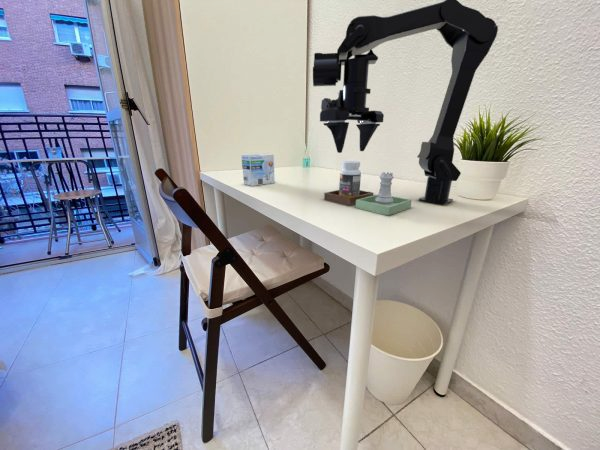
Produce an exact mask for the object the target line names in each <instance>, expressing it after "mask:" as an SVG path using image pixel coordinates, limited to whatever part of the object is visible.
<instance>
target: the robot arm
mask: <svg viewBox="0 0 600 450" xmlns="http://www.w3.org/2000/svg"><path fill="white" fill-rule="evenodd" d="M432 30H437V31H438V32H439V33H440V35H441V37H442V38H443V40H444V42H445V43H446V44H447V46H449V47H450V48H452V53H451V60H450V62H451V76H450V78H449V82H448V85H447V88H446V91H445V94H444V97H443V101H442V104H441V107H440V111H439V114H438V118H437V121H436V124H435V127H434V130H433V133H432V135H431V137H430V138H429V140H428V141H422V142H421V145H420V151H419V154H418V155H417V156H416V158H418V165H419V167H420V168H421V169H422V170H423V173H424V176H425V177H427V179H426V186H425V192H424V196H422V197H420V198H418V201H420V202H425V203H431V204H436V205H441V206H442V205H447V204H450V203H451V202H454V199H453V198H450V193H451V187H452V182H457V181H458V179H459V177H460V176H461V175H462V172H461V171H460V170H459V169H458V167H457V166H456V165H455V164H454V163H453V161H454V154H455V144H454V142H455V141H454V136H455V134H456V131H457V128H458V124H459V121H460V120H461V116H462V113H463V110H464V107H465V104H466V101H467V97H468V95H469V92H470V89H471V86H472V83H473V80H474V77H475V74H476V72H477V70H478V69H479V67H480V65H481V64H482V62H483V61H484V60H485V58H486V57H487V56H488V54H489V52H490V50H491V48H492V46H493V45H494V41H495V40H496V38H497V36H498V31H499V26H498V25H497V23H496V21H495V20H493V18H491V17H486V16H485V15H484V14H483V13H482V12H480V11H479V10H478V9H475V8H472V7H470V6H466V5H464V4H462V3H461V2H459V0H443V1H441V2H437V3H433V4H430V5H427V6H422V7H419V8H415V9H411V10H407V11H404V12H401V13H396V14H393V15H390V16H380V15H373V14H372V15H359V16H356V17H353V19H352V20H351V21H350V22H349V24H348V25H347V28H346V30H345V37H344V39H343V40H342V42H341V43H340V44H339V47H338V48H337V51H336V52H329V53H327V52H326V53H322V52H315V53H314V54H313V56H314V57H313V67H312V86H313V87H335V86H337V83H339V82H341V81H342V66H343V84H342V89H339V91H338V96H337V98H336V99H331V98H329V97H324V98H323V99H322V100H321V104H320V109H321V110H320V113H319V122H320V123H321V122H322V123H323V126H324V127H325V126H326V127H327V129H329V131H331V135H332V138H333V141H334V145H335V148H336V152H337V154H341V153H343V150H344V146H345V142H346V138H347V133H348V129H349V125H350V122H349V121H356V122H357V123H358V124H355V126H356V127H357V129H358V130H359V151H360V152H364V151H365V150H366V147H367V146H368V144H369V143H370V140H371V139H372V137H373V135H374V134H375V132H376V130H378V128H379V127H380V126H381V123H384V117H385V114H384V113H383V112H382V111H381V110H370V107H367V95H371V88H368V80H369V79H368V78H369V67H370V66H369V65H375V64H376V63H377V61H378V60H379V56H378V55H377V54H375V53H374V51H373V49H375V48H377V47H379V45H382V44H384V43H386V42H389V41H394V40H397V39H401V38H405V37H409V36H413V35H417V34H421V33H425V32H428V31H432ZM353 56H354V57H353ZM346 121H348V122H346Z"/></svg>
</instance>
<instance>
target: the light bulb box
mask: <svg viewBox="0 0 600 450" xmlns="http://www.w3.org/2000/svg"><path fill="white" fill-rule="evenodd" d="M240 157H241V167H242V168H241V169H242V181H243V184H244V185H246V186H247V185H248V186H251V187H255V186H262V185H269V184H275V182H276V181H275V180H276V179H275V155H274V154H269V153H257V154H256V153H254V154H241V156H240Z"/></svg>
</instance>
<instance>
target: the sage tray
mask: <svg viewBox="0 0 600 450" xmlns="http://www.w3.org/2000/svg"><path fill="white" fill-rule="evenodd" d="M378 194H379V193H376V194H373V196H369V197H365V198H361V199H357V200H356V204H355V208H356V209H360V210H364V211H367V212H372V213H376V214H381V215H383V216H391V215H395V214H397V213H400V212H402V211H405V210H408V209H410V208H412V202H413V200H412V199H410V198H404V197H401V196H400V197H399V196H394V195H391V196H392V198H393V202H392V203H393V205H391V206H385V205H380V204H376V203H375V202H376V200H375V198H376V197H377V195H378Z"/></svg>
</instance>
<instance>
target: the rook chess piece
mask: <svg viewBox="0 0 600 450" xmlns="http://www.w3.org/2000/svg"><path fill="white" fill-rule="evenodd" d="M394 178H395V177H394V175H393V172H389V171H388V172H387V171H386V172H381V174H380V176H379V179H380V182H379V184H380V185H379V191H378V193H377V194H378V195H377V194H376V195H377V197H376V198H375V200H376V202H375V203H376V204H380V205H385V206H391V205H393V203H392V202H393V198H392V196H393V195H392V184H393V183H392V180H394Z"/></svg>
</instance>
